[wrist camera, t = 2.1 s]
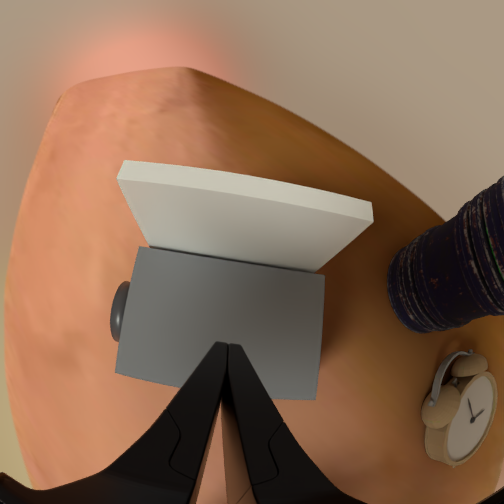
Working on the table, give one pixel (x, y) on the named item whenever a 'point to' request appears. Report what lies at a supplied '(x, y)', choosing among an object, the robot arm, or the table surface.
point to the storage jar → (453, 268)
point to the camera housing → (219, 320)
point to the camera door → (240, 216)
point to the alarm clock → (459, 409)
